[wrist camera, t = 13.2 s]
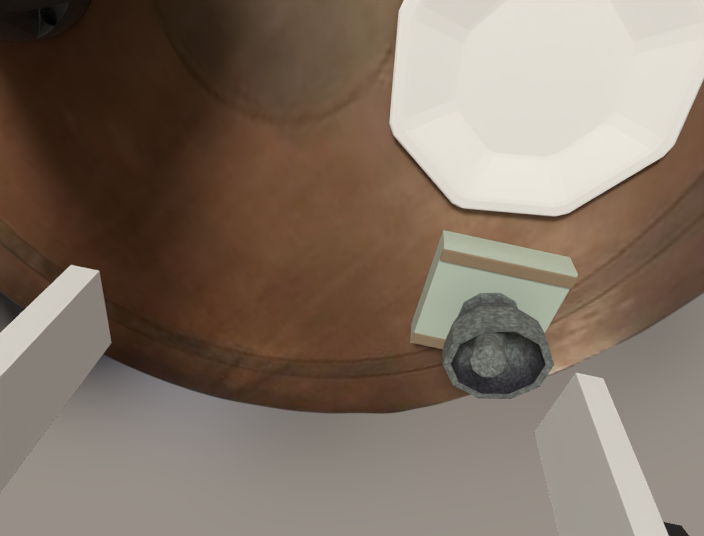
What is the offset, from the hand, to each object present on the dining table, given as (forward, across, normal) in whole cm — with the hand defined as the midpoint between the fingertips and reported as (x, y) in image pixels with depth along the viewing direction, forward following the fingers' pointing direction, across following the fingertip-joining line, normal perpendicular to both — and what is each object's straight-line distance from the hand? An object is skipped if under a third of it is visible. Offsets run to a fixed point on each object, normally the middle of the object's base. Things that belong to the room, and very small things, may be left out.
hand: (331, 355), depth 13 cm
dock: (+32, +15, -20) cm, 41 cm away
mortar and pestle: (+29, +15, -20) cm, 38 cm away
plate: (+33, +12, +2) cm, 35 cm away
